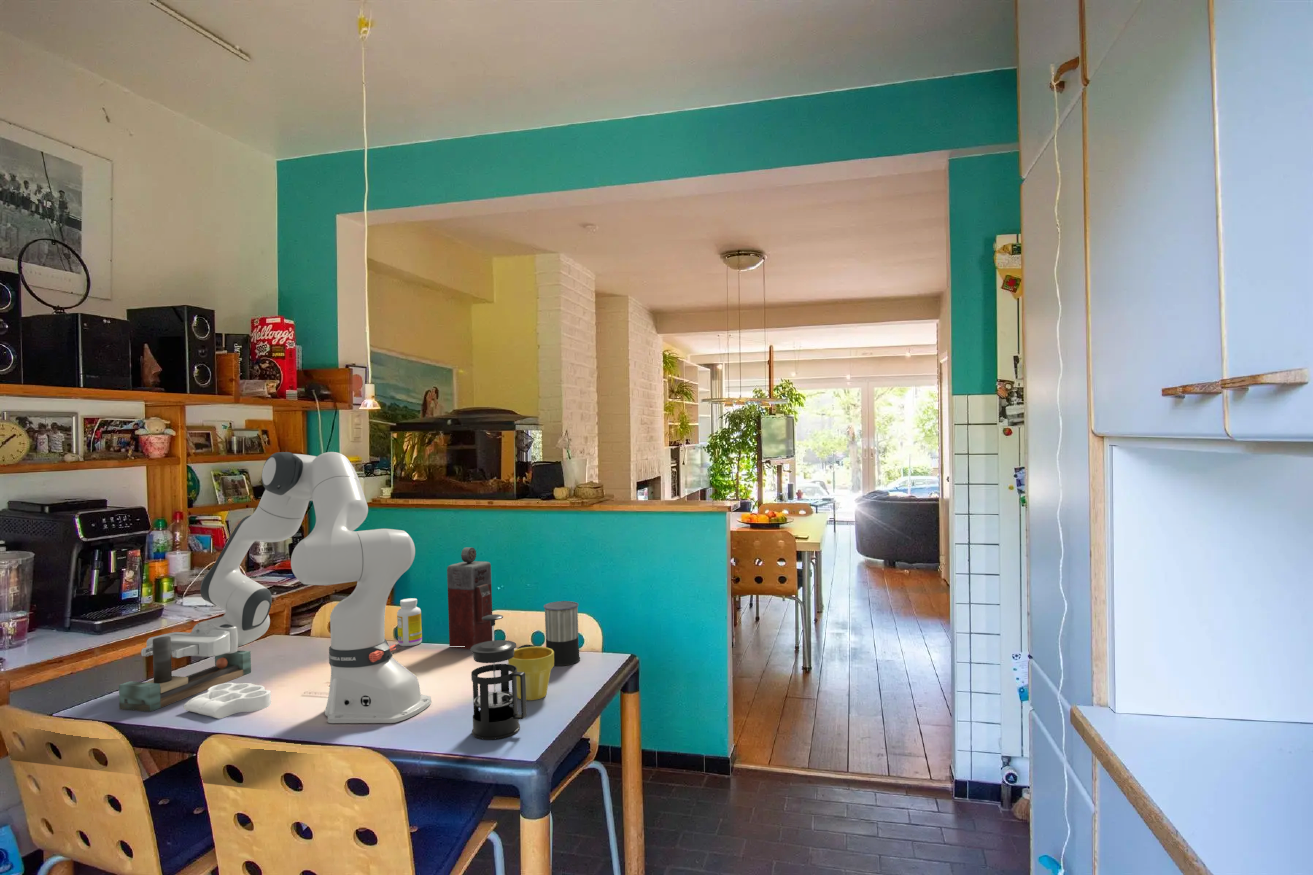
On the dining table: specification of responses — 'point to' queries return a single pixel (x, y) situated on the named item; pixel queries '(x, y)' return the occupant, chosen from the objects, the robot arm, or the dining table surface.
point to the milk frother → (562, 632)
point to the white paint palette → (230, 700)
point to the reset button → (221, 663)
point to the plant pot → (533, 670)
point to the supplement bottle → (409, 623)
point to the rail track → (149, 693)
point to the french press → (495, 706)
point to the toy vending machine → (469, 601)
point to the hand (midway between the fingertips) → (158, 653)
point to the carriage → (164, 666)
